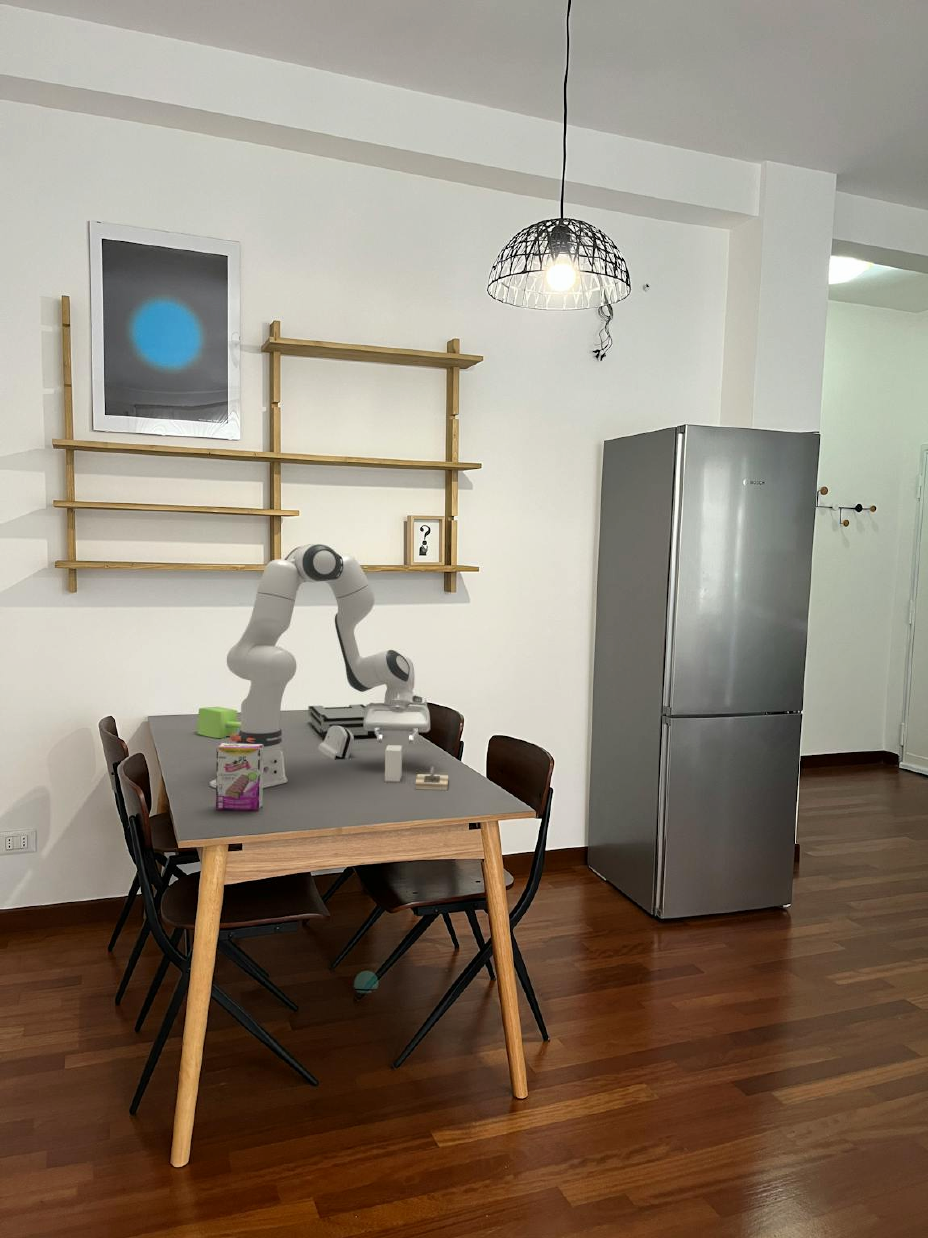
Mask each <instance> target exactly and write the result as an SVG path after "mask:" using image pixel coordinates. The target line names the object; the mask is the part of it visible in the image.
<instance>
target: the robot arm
mask: <svg viewBox="0 0 928 1238" xmlns="http://www.w3.org/2000/svg"><path fill="white" fill-rule="evenodd" d="M307 582H308V583H317V582H318V583H319V582H326V583H327V584H328V585H329V587H330V588H331V591H332V593H333V595H334V597H335V601H336V605H337V613H336V614H335V615H334V625H335V630H336V635H337V639H338V642H339V647H340V651H341V654H342V658H343V661H344V667H345V674H346V680H347V682H348V684H349V686H350V687H351V688H353V689H354V690H356V691H358V692H361V693H363V692H367V691H369V690H372V689H374V688H376V687H379V686H383V685H385V686H386V690H385V693H384V700H383V701H384V702H376V703H375V702H370V703H368V704H366V705H364V706H365V708H364V714H365V716H364V721H363V726H364V729H365V730H366V731H375V735H376V736H377V737H376V743H378V744H379V743H381V744H382V743H383V740H384V739H383V738H384V737H383V734H379V733H381V732H395V733H396V732H398V733H399V732H400V733H401V732H403V733H406V732H407V733H413V734H412V735H408V744H415V739H416V738H417V737H418V736H419V733H428V732H429V731H430V730H431V717H430V710H429V707H428V702H427V699H426V697H423V696H421V695H417V694H414V692H413V691H414V688H415V667H414V663H413V661H412V660H411V658H409V657H407V656H405V655H402V654H401V653H399V652H398V651H396V650H394V649H387V650H385V651H381V652H378V653H375V654H372V655H370V656H369V655H368V656H366V657H362V656H361V655H360V652H359V648H358V644H357V640H356V636H355V628H356V626H357V625H358V624H359V623H360V622H361V621H362V620H363V619H364V618H366V617H367V616H368V615H369V614H370V612H372V609H373V607H374V604H375V594H374V592H373V589H372V587H371V584H370V583H369V580H368V577H367V576H366V574H365V572H364V570H363V568H362V567H361V565H360V563H359V562H358V560H357V559H356V558H355V557H354V556H353V555H350V554H340V555H339V554H338V553H337V552H336V551H335V550H334V549H332V548H331V547H330V546H328V545H325V544H321V543H320V544H319V543H317V544H313V543H311V544H305V545H302V546H301V545H300V546H298V547H296V548H294V549H293V550H291V551H290V553H288V555H287V556H286V557H285V558H284V559H281V558H279V559H273V560H271V561H269V562H268V563H267V564H266V567H265V568H264V571H263V573H262V576H261V578H260V581H259V585H258V587H257V592H256V596H255V601H254V604H253V609H252V613H251V616H250V619H249V622H248V624H247V626H246V628H245V630H244V632H243V634H242V636H241V637H240V639H239V640H238V642H236V644H234V645H233V646H232V647H231V648H230V649H229V651H228V653H227V655H226V665H227V667H228V669H229V671H230V672H231V673H232V674H234V675H236V676H237V677H238V678H240V679H242V680H246V681H250V687H249V690H248V693H247V696H246V698H244V699H243V700H242V701H241V705H240V722H241V728H240V730H239V732H238V734H236V735H235V734H232V735H231V736H230V737H229V739H230V741H231V742H235V744H263V789H264V788H265V789H266V788H269V787H274V786H278V785H282V784H287V783H288V781H289V780H288V778H287V776H286V771H285V761H284V759H285V758H284V752H283V750H282V745H281V743H282V741H283V740H282V739H283V733H282V729H281V707H282V706H281V705H282V700H283V696H284V693H285V690H286V688H287V687H286V686H287V685H288V684H289V682H290V681H292V679H293V677H294V676H295V675H296V671H297V661H296V658H295V656H294V655H293V653H291V652H289V650H286V649H284V648H282V647H280V646H277V645H276V644H277V642H278V640H279V638H280V637H281V636H282V635H283V634H284V633H285V632H287V631H288V629H289V628H290V625H291V622H292V616H293V612H294V607H295V605H296V599H297V595H298V594H297V593H298V590H299V588H300V586H301V584H302V583H307ZM209 786H210V787H212V788H214V789H216V779H213V780H211V781H209Z"/></svg>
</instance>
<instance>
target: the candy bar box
mask: <svg viewBox="0 0 928 1238" xmlns="http://www.w3.org/2000/svg"><path fill="white" fill-rule="evenodd" d="M215 775H216V777H215V778H216V788H215V792H216V793H215V808H216V810H219V811H220V810H223V811H224V810H225V811H260V810H259V809H261V808H262V807H261V806H263V802H264V800H263V799H264V798H263V797H264V796H263V795H264V793H263V792H264V788H263V744H237V743H236V742H235V743H233V742H232V743H231V742H230V743H229V742H228V743H227V742H223V743H222V742H221V743H220V744H218V745H217V746H216V774H215ZM260 807H261V808H260Z"/></svg>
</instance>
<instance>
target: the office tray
mask: <svg viewBox="0 0 928 1238" xmlns="http://www.w3.org/2000/svg"><path fill="white" fill-rule="evenodd" d="M365 706H366V705H364V704H349V705H348V706H334V707H333V706H330V707H329V706H328V707H327V706H326V707H324V706H323V705H308V708H307V709H308V710H307V711H308V713H307V714H308V716H309V717H310V719H311V724H312V727H313V726H314V727H313V728H314V729H315V730H316V731H317V733H318V732H319V733H318V734H319V735H320V736H321V738H322V739H323V741H324V740H325V737H326V735H327V732H328V730H329V728H330V727H331V726H341V727H344V728H346V729H348V730H349V731H351V733H352V734H353V736H359V737H360V738H361V739H366V738H367V739H368V738H369V739H371V738H370V737H373V738H377V736H376V735H375V731H366V730H365V729H364V726H363V721H364V716H365V714H364V708H365ZM380 733H381V732H380ZM380 733H379V734H380ZM380 735H381V734H380Z"/></svg>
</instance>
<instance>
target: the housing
mask: <svg viewBox="0 0 928 1238" xmlns="http://www.w3.org/2000/svg"><path fill="white" fill-rule="evenodd" d="M384 756H385V757H384V768H385V769H384V782H401V778H402V775H403V774H402V773H403V770H402V769H403V766H402V765H403V764H402V763H403V745H394V744H393V745H392V744H391V745H389V744H388V745H387V746H386V748H385V753H384Z"/></svg>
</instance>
